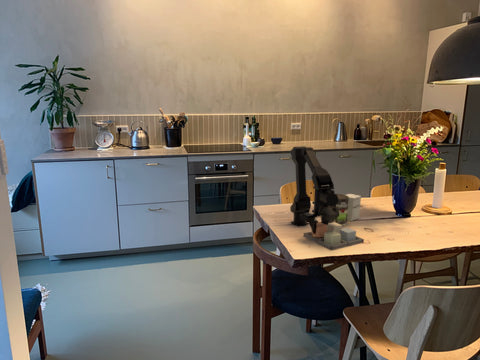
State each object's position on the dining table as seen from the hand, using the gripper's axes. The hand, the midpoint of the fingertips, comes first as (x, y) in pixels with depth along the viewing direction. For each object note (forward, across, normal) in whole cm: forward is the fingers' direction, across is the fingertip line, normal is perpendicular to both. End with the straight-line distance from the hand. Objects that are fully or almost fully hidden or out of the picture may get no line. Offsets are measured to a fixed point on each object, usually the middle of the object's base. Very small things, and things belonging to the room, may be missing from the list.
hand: (319, 232), depth 178 cm
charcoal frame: (+2, +4, -5) cm, 7 cm away
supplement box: (+3, +34, +14) cm, 37 cm away
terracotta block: (+1, 0, 0) cm, 1 cm away
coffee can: (+3, +22, +12) cm, 26 cm away
